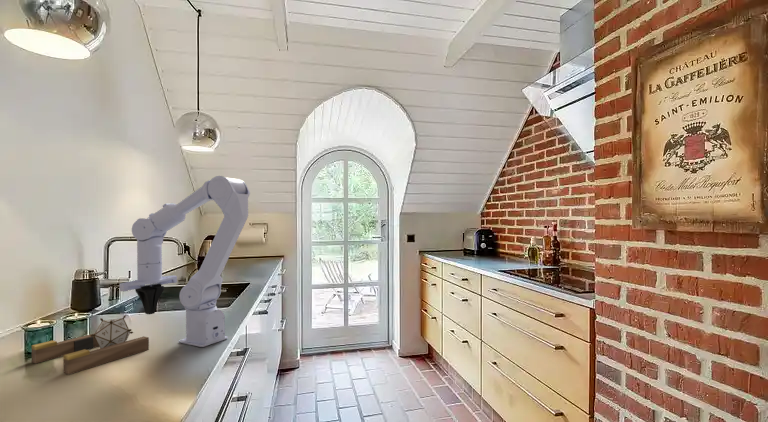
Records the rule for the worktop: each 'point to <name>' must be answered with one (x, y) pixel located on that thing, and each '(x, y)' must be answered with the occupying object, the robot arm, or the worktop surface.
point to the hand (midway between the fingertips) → (150, 313)
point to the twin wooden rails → (86, 352)
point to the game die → (111, 332)
